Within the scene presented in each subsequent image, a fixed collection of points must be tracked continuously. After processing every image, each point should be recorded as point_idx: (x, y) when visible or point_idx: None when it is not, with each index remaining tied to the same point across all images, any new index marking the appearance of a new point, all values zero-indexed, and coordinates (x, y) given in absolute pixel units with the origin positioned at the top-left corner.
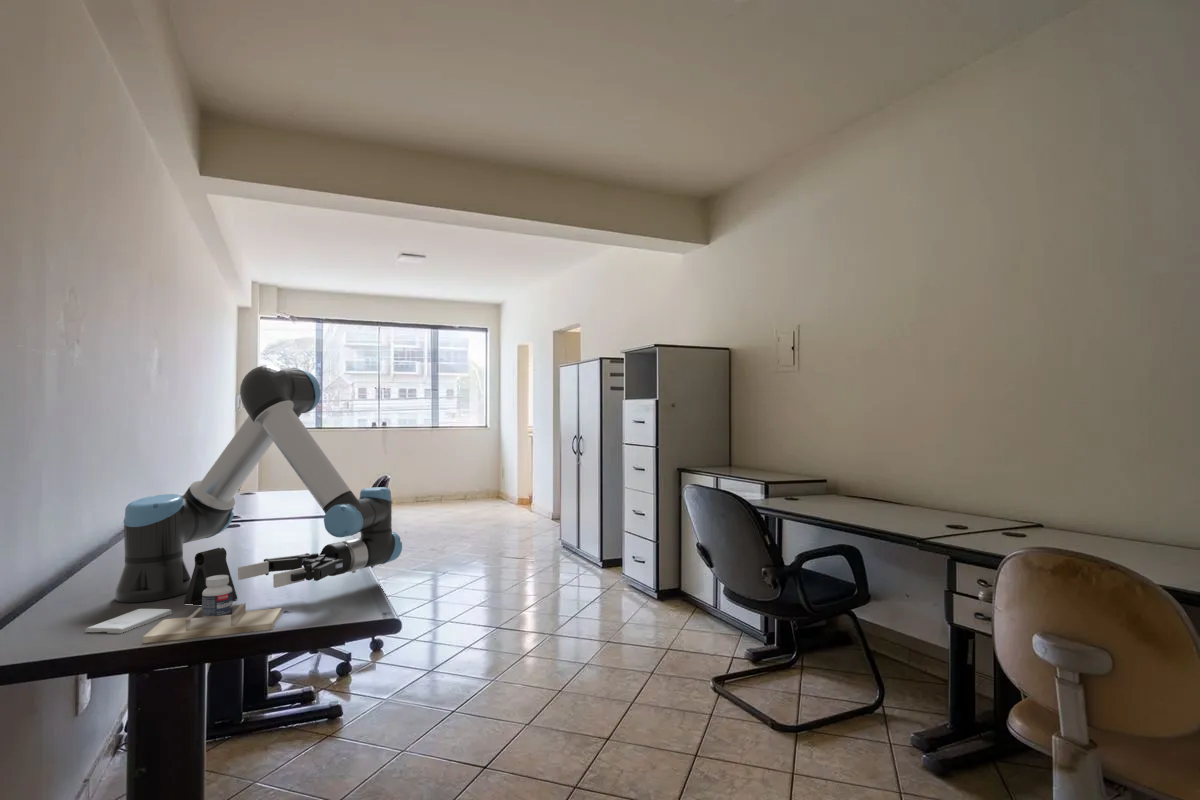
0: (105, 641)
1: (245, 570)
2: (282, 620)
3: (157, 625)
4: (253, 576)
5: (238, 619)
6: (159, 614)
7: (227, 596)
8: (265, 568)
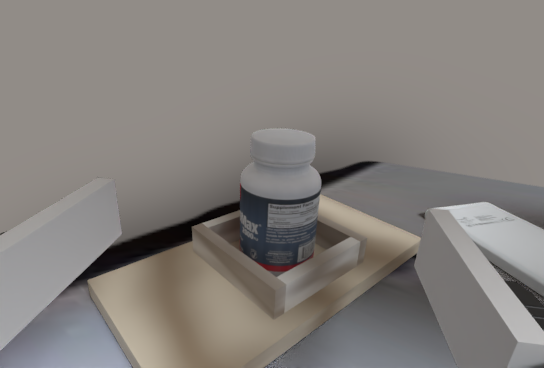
0: (389, 199)
1: (432, 245)
2: (105, 365)
3: (376, 219)
4: (438, 318)
5: (211, 261)
6: (513, 264)
7: (240, 191)
8: (483, 361)
